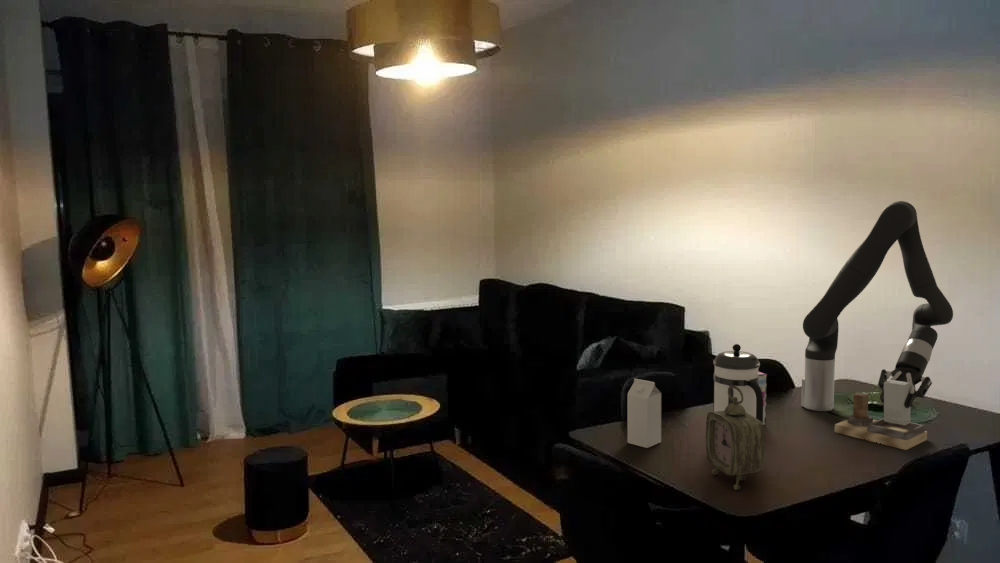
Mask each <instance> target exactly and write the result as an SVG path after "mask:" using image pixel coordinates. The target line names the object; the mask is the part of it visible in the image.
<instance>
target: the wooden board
mask: <svg viewBox="0 0 1000 563" xmlns="http://www.w3.org/2000/svg"><path fill="white" fill-rule="evenodd" d="M869 396H870V394H868V393H863V392H856V393H854V394H853V403H852V404H853V407H852V408H853V409H852V410H853V412H852V414H850V415H848V416H847V419H844V420H841V421H840V422H838V423H834V433H837V434H839V435H845V436H847V437H848V436H849V437H852V438H857V439H861V440H864V439H865V440H864V441H869V442H872V443H876V442H877V443H876V444H880V443H881V444H880V445H885V446H888V447H893V448H897V449H901V450H905V451H907V450H909V449H911V448H913V447H915V446H917V445H919V444H921V443H923V442H925V441H927V440H928V431H927V430H925V428H926V426H925V424H920V423H915V422H911V421H910V423H909V424H907V425H900V424H895V423H890V422H885V421H884V417H882V418H879V419H875V418H874V417H873V416H871V415H869Z"/></svg>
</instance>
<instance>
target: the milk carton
mask: <svg viewBox="0 0 1000 563" xmlns="http://www.w3.org/2000/svg"><path fill="white" fill-rule="evenodd" d="M626 401H627V403H626V404H627V408H626V409H627V410H626V411H627V416H626V417H627V444H631V445H634V446H639V447H642V448H645V449H648V448H651V447H654V446H656V445H658V444H660V443H661V442H662V392H661V391H660V390H659V389H658V388H657V387H656V383H655V382H654V381H650V380H644V379H639V378H634V379H633V383H632V385H631V387H630V389H629V390H628V392H627V400H626Z"/></svg>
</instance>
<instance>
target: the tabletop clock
mask: <svg viewBox="0 0 1000 563" xmlns="http://www.w3.org/2000/svg"><path fill="white" fill-rule="evenodd" d="M731 388H734V389H736V390H738V392H739V393H740V395H741V401H737V400H738V398H737V397H734V398H732V397H731V395H730V389H731ZM728 396H729V398H730V399H731V401H733V403H732V404H729V405H728V406H727V407H726V408H725V411H717V412H714V411H710V412H708V413H707V417H706V424H705V447H706V449H705V450H706V455H707V457H706V458H707V460H708V462H710V464H711V465H712V466H713V467H714V468H713V469H712V470H711V474H712V475H714V476H717V475H719V472H721V473H723V474H725V475H726V476H735V484H734V485H733V490H735V491H736V490H738V491H740V490H741V485H740V484H739V483H740V481H741V480H744V481H746V476H745V474H754V473H760V471H762V469H764V466H765V464H766V462H765V461H766V452H767V451H766V449H767V446H766V440H767V439H766V438H767V437H766V428H765V425H764V424H763V423H762V422H761V421H760V420H758V419H756V418H755V417H753V416H751V415H749V414H747V413H746V411H745V409H744V407H743V406H742V405H740V404H741V403H742V402H743V394H742V391H741V390H740V389H739V388H738V387H736V386H730V387H729V388H728Z"/></svg>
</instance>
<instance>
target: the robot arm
mask: <svg viewBox="0 0 1000 563" xmlns="http://www.w3.org/2000/svg"><path fill="white" fill-rule="evenodd" d="M880 212H881V213H880V214H879V216H878V218H877V220H876V222H875V223H874V225H873V227H872V229H871V230H870V231H869V234H868V235H867V237H866V238H865V239H864V240H863V242H862V243H861V244H860V245H858V246H857V248H856V249H855V250H854V252H853V253H852V254H851V255H850V256H849V258H848V260H846V261H845V263H844V265H843V266H842V267H841V268H840V270H839V272H838V273H837V275H836V276H835V278H834V279H833V281H832V283H831V284H830V285H829V287H828V289H827V290H826V292H825V294H824V295H823V296H822V298H820V300H819V302H817V304H816V305H815V306H814V307H813V308H812V309H811V310H810V311H809V312H808V313H807V315H805V316H804V319H803V321H802V330H803V332H804V334H805V336H807V337H808V338H809V339H808V342H807V343H808V344H807V345H806V347H805V351H804V377H803V378H802V379H801V396H800V400H801V401H800V402H801V403H800V406H801V407H804V408H805V409H807V410H811V411H815V412H829V411H832V409H833V410H834V405H835V403H834V402H835V400H834V399H835V374H836V373H835V368H836V353H837V349H838V342H839V340H838V339H839V329H840V328H839V319H838V318H839V316H840V315H841V313H842V312H843V311H844V310H845V308H846V307H847V306H848V305H849V304H851V302H853V301H854V300H855V299H856V298H857V297H859V295H861V293H862V292H863V291H864V290H865V289H866V287H867V286H868V285H869V284H870V283H871V281H872V280H873V278H874V277H875V276H876V274H878V272H879V269H881V268H880V267H881V265H882V264H883V262H884V259H885V257H886V255H887V254H888V252H889V250H890V249H891V248H892V247H893V245H894V244H895V243H896V241H897V242H898V245H899V248H900V251H901V256H902V262H903V267H904V272H905V276H906V278H907V282H908V285H909V287H910V290H911V291H910V292H911V293H912V295H913V296H914V297H915V298H921V299H924V300H925V301H926V302H927V303H922V304H920V305H918V306H917V307H915V310H914V311H913V314H912V323H911V324H912V326H911V331H910V334H909V336H908V339H907V341H906V342H905V344H904V346H903V348H902V349H901V352H900V355H899V356H898V359H897V361H896V364H895V366H894V368H893V369H892V370H891V371H889V370H886V369H885V368H883V369H881V371H880V375H879V379H878V383H877V386H878V388H879V390H880V391H881V393H880V394H879V400H880V401H881V403H882V404H884V382H885V381H888V380H896V381H902V382H908V383H910V388H909V391H910V394H908V395H907V398H906V400H905V402H904V406H905V408H909V407H910V408H911V407H912V406H913V404H914V403H915V402H914V401H915V399H916V398H921V399H922V398H924V397H925V395H926V394H927V392H928V390H929V389H930V387H931V386H932V384H933V382H932V380H931V378H930V377H929V376H926V377H925V376H923V375H924V373H925V371H926V369H927V366H928V364H929V362H930V360H931V357H932V353H933V350H934V347H935V344H936V343H937V339H938V336H939V335H938V332H937V331H936V329H934V328H933V327H935V326H936V327H937V326H943V325H948V324H950V323H951V322H952V320H953V319H954V310H953V308H952V305H951V303H950V302H949V301H948V300H949V299H947V297H946V296H945V294H943V292H942V290H941V289H940V288H939V286H938V285H937V282H936V278H935V275H934V273H933V270H932V267H931V264H930V262H929V259H928V257H927V254H926V251H925V248H924V245H923V240H922V238H921V233H920V228H919V221H918V213H917V210H916V208H915V207H914V205H912V204H911V203H909V202H908V201H902V200H900V201H894V202H892V203H890V204H888V205H886V206H885V207H884V208H883V209H882V211H880ZM919 383H921V384H920V386H918V388H916V385H917V384H919Z"/></svg>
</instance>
